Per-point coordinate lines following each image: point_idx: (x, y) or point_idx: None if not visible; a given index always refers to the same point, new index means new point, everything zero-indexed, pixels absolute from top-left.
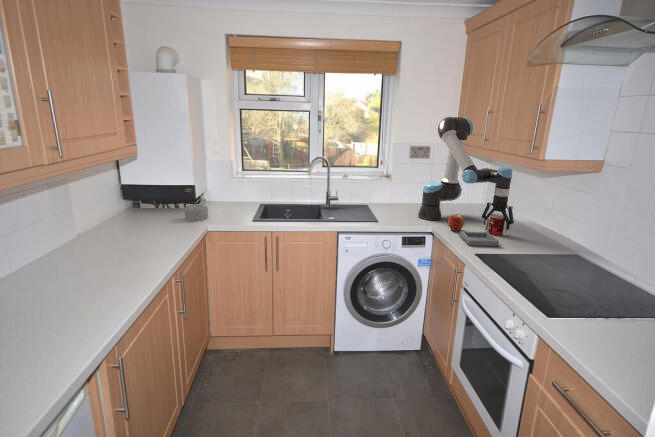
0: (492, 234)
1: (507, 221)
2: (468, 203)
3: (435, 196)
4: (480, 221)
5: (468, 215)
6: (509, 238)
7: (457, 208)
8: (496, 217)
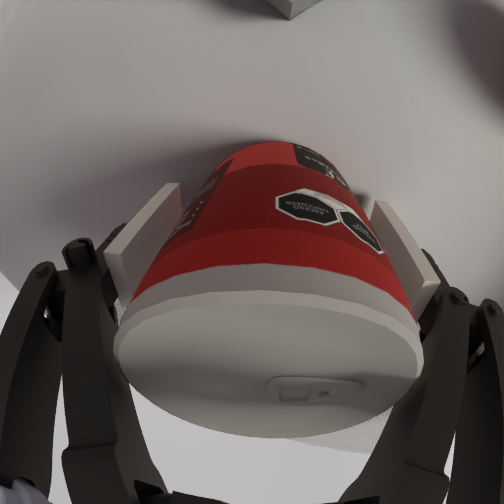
0: (280, 142)
1: (72, 289)
2: None
3: None
4: None
5: None
6: (126, 172)
7: None
8: (232, 285)
